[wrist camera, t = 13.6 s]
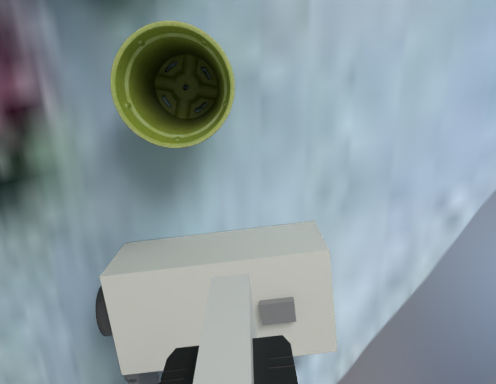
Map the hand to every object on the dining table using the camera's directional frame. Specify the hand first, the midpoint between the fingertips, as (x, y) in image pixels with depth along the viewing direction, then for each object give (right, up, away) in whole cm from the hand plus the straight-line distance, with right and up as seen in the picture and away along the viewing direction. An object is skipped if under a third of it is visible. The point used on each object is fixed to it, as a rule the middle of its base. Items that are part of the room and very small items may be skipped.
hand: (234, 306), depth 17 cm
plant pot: (-5, +15, +24) cm, 28 cm away
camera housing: (-2, -4, +28) cm, 29 cm away
